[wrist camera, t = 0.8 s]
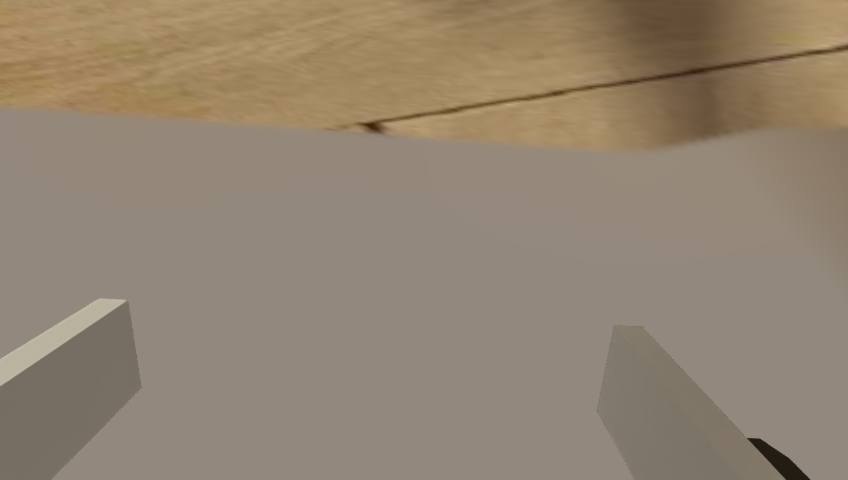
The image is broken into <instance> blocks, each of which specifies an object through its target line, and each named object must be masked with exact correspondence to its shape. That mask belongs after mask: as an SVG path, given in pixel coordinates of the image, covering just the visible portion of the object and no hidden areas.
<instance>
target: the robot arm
mask: <svg viewBox="0 0 848 480" xmlns="http://www.w3.org/2000/svg"><path fill="white" fill-rule="evenodd" d="M140 389H141V381H140V374H139V369H138V362H137V355H136V349H135V343H134V337H133V329H132V323H131V317H130V310H129V303H128V300H117V299H98V300H96V301H94V302H93V303H91V304H90V305H88V306H86V307H85V308H83V309H81V310H80V311H78V312H76V313H75V314H74V315H72V316H70V317H68V318H67V319H65V320H63V321H62V322H60V323H58V324H57V325H56V326H54V327H52V328H51V329H49V330H47V331H45V332H44V333H42V334H41V335H39V336H37V337H36V338H34V339H32V340H31V341H29V342H28V343H26V344H24V345H23V346H21V347H19V348H18V349H16V350H15V351H13V352H11V353H10V354H8V355H6V356H5V357H3V358H1V359H0V480H51V479H52V478H53V477H54V476H55V475H56V474H57V473H58V472H59V471H60V470H61V469H62V468H63V467H64V466H65V465H66V464H67V463H68V462H69V461H70V460H71V459H72V458H73V457H74V456H75V455H76V454H77V453H78V452H79V451H80V450H81V449H82V448H83V447H84V446H85V445H86V444H87V443H88V442H89V441H90V440H91V438H93V437H94V436H95V435H96V434H97V433H98V432H99V430H100V429H101V428H102V427H103V426H104V425H105V424H106V423H107V422H108V421H109V420H110V419H111V418H112V417H113V416H114V415H115V414H116V413H117V412H118V411H119V410H120V409H121V408H122V407H123V406H124V405H125V404H126V403H127V402H128V401H129V400H130V399H131V398H132V397H133V396H134V395H135V394H136V393H137V392H138V391H139V390H140ZM597 412H598V413H599V415H600V417H601V419H602V421H603V423H604V424H605V426H606V428H607V430H608V432H609V434H610V436H611V437H612V439H613V441H614V443H615V445H616V447H617V448H618V450H619V452H620V454H621V456H622V458H623V459H624V461H625V463H626V465H627V467H628V469H629V470H630V472H631V474H632V476H633V478H634V479H635V480H810V479H809V478H808V477H807V476H806V475H805V474H804V473H803V472H802V471H801V470H800V469H799V468H798V467H797V466H796V465H795V464H794V463H793V462H792V461H791V460H790V459H789V458H788V457H786V456H785V455H783V454H782V453H780V452H779V451H777V450H776V449H774V448H773V447H771V446H770V445H768V444H767V443H766V442H764V441H763V440H761V439H755V438H746V437H745V436H744V435H743V434H742V433H741V432H740V431H739V429H738V428H737V427H736V426H735V425H734V424H733V423H732V422H731V421H730V420H729V419H728V418H727V417H726V415H725V414H724V413H723V412H722V411H721V410H720V409H719V408H718V407H717V406H716V405H715V404H714V403H713V402H712V401H711V400H710V398H709V397H708V396H707V395H706V394H705V393H704V392H703V391H702V390H701V389H700V388H699V387H698V386H697V385H696V384H695V382H694V381H693V380H692V379H691V378H690V377H689V376H688V375H687V374H686V373H685V372H684V371H683V370H682V369H681V368H680V366H679V365H677V363H676V362H675V361H674V360H673V359H672V358H671V357H670V356H669V355H668V354H667V353H666V352H665V351H664V350H663V348H662V347H661V346H660V345H659V344H658V343H657V342H656V341H655V340H654V339H653V338H652V337H651V336H650V335H649V333H648V332H647V331H646V330H645V329H644V328H643V327H641V326H622V325H614V327H613V332H612V337H611V343H610V348H609V352H608V358H607V363H606V367H605V372H604V377H603V383H602V388H601V393H600V398H599V403H598V408H597Z"/></svg>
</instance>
